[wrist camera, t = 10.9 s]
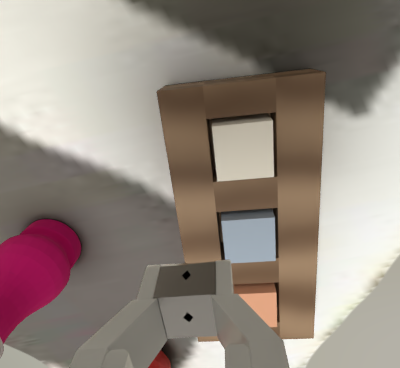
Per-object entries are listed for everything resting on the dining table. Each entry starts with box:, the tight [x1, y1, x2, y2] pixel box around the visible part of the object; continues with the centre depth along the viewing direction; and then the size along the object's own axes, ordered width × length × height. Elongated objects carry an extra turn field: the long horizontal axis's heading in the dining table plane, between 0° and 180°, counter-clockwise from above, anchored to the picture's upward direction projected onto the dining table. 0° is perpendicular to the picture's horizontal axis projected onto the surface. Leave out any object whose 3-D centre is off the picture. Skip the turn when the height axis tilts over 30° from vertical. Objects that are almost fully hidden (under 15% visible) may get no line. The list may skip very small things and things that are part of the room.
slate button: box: [221, 208, 276, 263], centre depth 28 cm, size 4×4×4 cm
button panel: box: [157, 69, 326, 342], centre depth 29 cm, size 26×12×4 cm, turn 7°
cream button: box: [212, 113, 274, 182], centre depth 24 cm, size 4×4×4 cm
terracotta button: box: [233, 283, 277, 327], centre depth 31 cm, size 4×4×4 cm
